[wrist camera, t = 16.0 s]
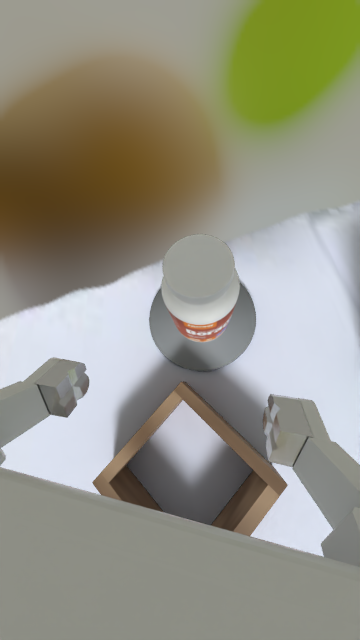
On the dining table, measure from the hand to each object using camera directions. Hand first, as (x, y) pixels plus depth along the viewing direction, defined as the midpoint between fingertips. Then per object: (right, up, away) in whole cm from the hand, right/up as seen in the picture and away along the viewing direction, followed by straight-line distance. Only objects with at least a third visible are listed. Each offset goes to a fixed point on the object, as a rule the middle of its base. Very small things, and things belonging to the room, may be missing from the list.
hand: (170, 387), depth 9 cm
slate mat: (+3, +3, +16) cm, 16 cm away
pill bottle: (+3, +3, +15) cm, 16 cm away
